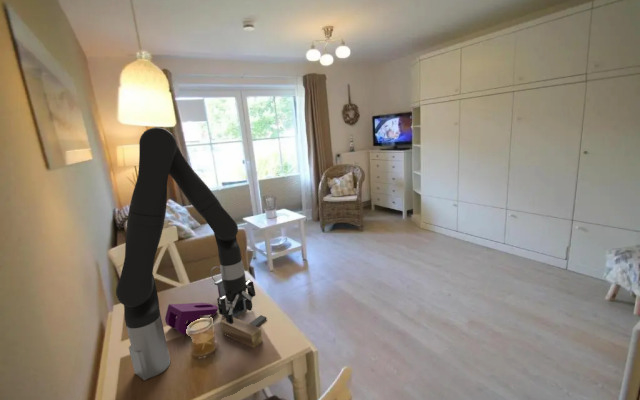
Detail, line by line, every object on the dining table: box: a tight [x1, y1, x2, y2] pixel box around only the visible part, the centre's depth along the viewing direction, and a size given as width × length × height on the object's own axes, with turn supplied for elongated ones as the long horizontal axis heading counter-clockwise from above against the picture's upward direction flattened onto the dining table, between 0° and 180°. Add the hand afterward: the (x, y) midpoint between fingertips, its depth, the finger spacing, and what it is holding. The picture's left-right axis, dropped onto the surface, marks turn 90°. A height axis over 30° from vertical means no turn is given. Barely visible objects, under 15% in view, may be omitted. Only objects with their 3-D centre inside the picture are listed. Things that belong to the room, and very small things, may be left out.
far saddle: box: [249, 314, 268, 328], centre depth 117 cm, size 6×3×1 cm, turn 146°
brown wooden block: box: [220, 317, 263, 349], centre depth 108 cm, size 4×16×5 cm, turn 56°
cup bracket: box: [214, 278, 248, 319], centre depth 123 cm, size 9×6×15 cm
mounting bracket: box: [164, 302, 219, 336], centre depth 120 cm, size 9×8×18 cm
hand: (240, 316), depth 107 cm, fingers open, 8 cm apart
